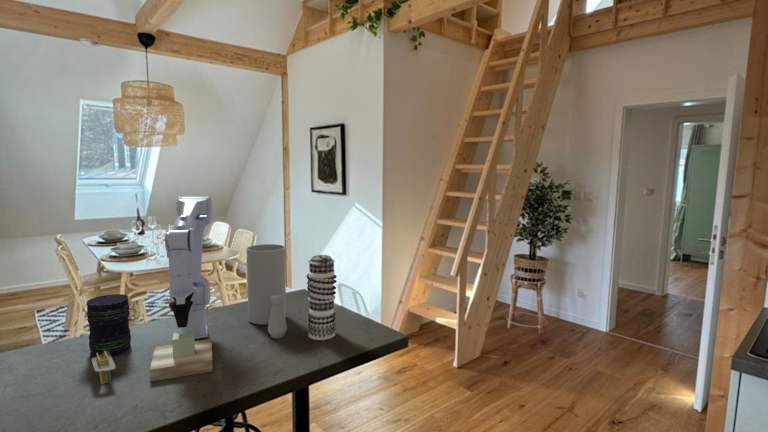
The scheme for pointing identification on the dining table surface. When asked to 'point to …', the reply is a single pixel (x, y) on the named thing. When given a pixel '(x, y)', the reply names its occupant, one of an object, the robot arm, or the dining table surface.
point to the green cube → (183, 344)
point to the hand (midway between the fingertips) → (183, 322)
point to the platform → (103, 366)
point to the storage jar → (109, 325)
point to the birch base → (181, 362)
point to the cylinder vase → (264, 280)
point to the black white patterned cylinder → (321, 297)
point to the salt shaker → (277, 317)
